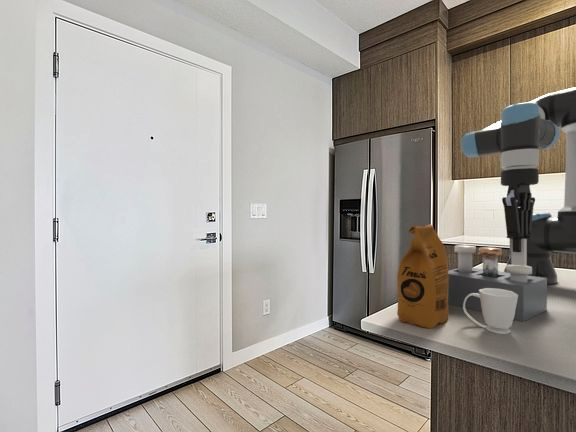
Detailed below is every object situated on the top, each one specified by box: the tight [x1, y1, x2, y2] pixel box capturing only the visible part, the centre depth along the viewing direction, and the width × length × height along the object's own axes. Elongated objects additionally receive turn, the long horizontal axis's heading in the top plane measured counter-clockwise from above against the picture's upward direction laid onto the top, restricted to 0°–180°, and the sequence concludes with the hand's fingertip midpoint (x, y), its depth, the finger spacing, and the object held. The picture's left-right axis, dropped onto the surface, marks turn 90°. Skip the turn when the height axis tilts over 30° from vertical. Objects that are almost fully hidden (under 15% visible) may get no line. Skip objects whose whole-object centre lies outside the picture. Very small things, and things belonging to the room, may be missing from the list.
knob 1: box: [454, 244, 477, 274], centre depth 90 cm, size 5×5×8 cm
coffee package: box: [396, 223, 450, 330], centre depth 75 cm, size 10×12×22 cm
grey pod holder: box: [448, 267, 548, 322], centre depth 85 cm, size 14×20×8 cm
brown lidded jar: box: [478, 247, 503, 278], centre depth 85 cm, size 5×5×8 cm
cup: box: [462, 288, 518, 335], centre depth 69 cm, size 7×10×8 cm
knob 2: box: [505, 264, 532, 283], centre depth 79 cm, size 5×5×8 cm
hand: (518, 264), depth 79 cm, fingers closed
